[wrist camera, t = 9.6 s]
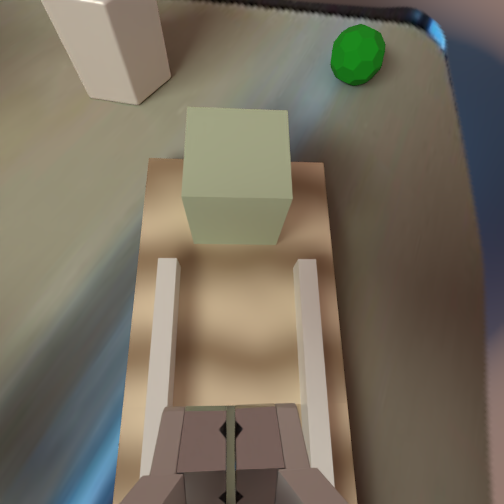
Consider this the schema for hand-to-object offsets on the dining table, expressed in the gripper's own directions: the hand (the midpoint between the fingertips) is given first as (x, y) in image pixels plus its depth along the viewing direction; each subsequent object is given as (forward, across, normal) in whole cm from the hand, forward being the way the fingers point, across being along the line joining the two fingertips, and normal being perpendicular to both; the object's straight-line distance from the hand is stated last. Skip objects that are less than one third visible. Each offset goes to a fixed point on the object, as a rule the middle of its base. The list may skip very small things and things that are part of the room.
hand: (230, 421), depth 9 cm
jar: (+32, +10, -9) cm, 35 cm away
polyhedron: (+32, -12, -9) cm, 36 cm away
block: (+19, 0, 0) cm, 19 cm away
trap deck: (+13, -1, +10) cm, 16 cm away
